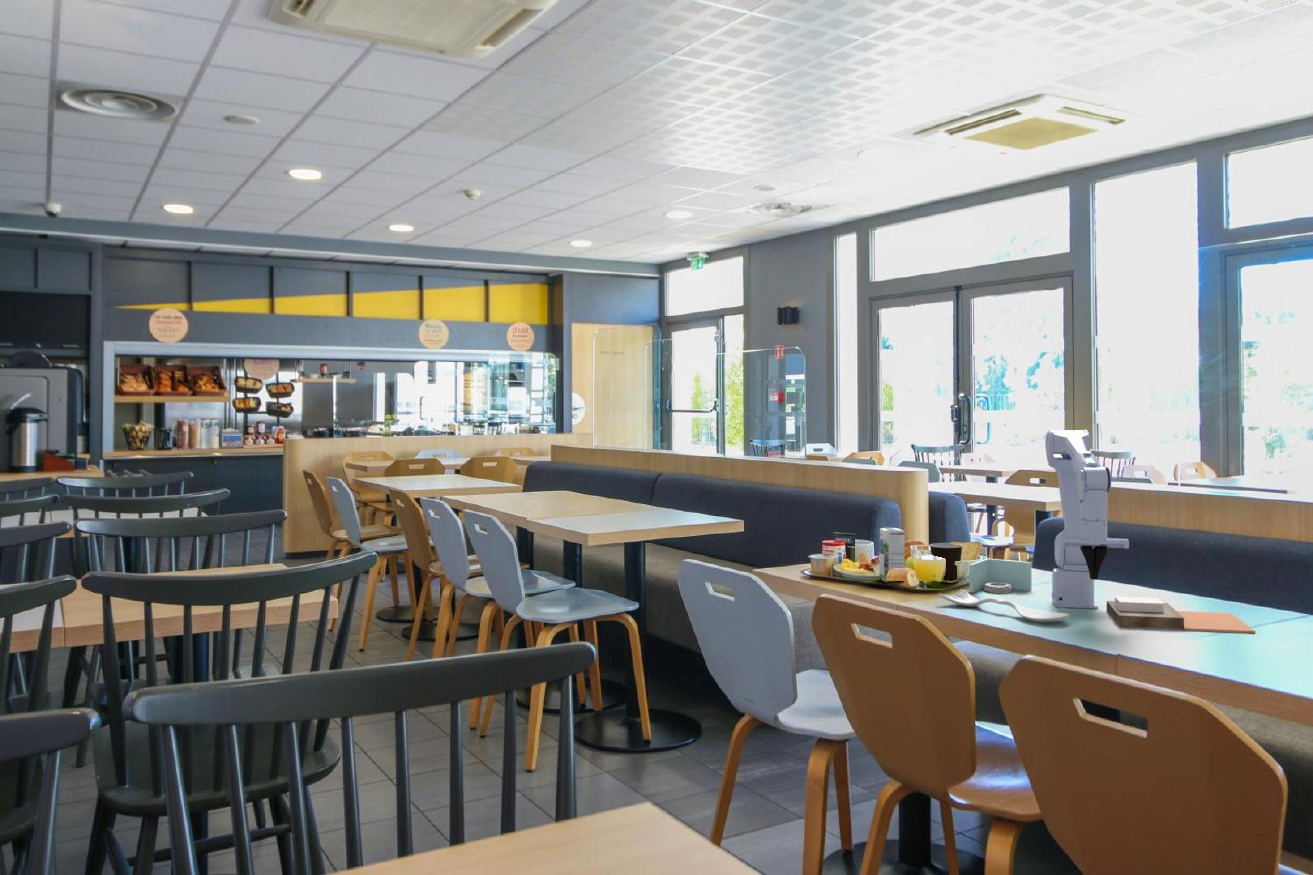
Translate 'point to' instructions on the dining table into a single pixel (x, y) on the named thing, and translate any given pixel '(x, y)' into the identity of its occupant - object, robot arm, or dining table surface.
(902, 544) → the syrup box
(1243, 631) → the mat
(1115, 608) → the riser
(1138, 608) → the tile
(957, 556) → the coffee mug
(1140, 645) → the dining table surface
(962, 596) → the fork
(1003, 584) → the right angle wall
